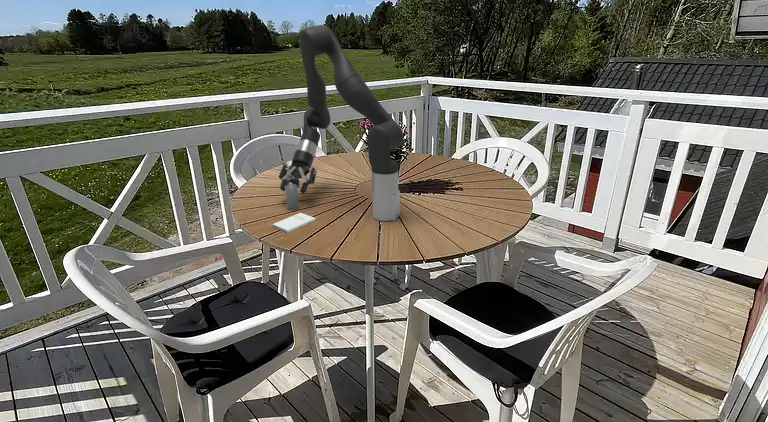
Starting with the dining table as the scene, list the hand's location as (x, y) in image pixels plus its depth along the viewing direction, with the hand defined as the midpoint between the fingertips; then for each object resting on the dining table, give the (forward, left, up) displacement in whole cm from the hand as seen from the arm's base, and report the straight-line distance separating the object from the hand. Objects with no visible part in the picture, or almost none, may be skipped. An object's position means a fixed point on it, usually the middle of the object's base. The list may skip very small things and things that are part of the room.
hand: (292, 191), depth 148 cm
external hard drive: (-8, +12, -7) cm, 16 cm away
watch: (+14, -22, -7) cm, 26 cm away
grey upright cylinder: (0, 0, -7) cm, 7 cm away
